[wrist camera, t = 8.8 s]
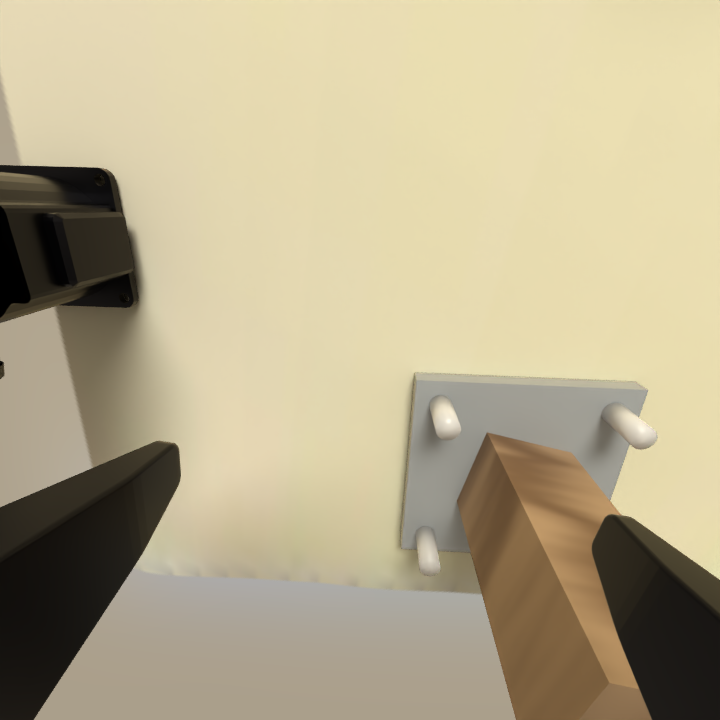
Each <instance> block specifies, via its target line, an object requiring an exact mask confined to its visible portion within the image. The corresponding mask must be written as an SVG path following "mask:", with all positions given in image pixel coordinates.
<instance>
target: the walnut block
mask: <svg viewBox="0 0 720 720" xmlns="http://www.w3.org/2000/svg"><path fill="white" fill-rule="evenodd" d="M457 504H458V507H459V511H460V515H461V518H462V522H463V526H464V529H465V533H466V537H467V540H468V544H469V548H470V552H471V555H472V559H473V563H474V566H475V570H476V574H477V577H478V581H479V585H480V588H481V592H482V596H483V600H484V603H485V607H486V610H487V614H488V618H489V622H490V625H491V629H492V632H493V636H494V640H495V644H496V647H497V651H498V655H499V658H500V662H501V666H502V669H503V673H504V677H505V681H506V684H507V688H508V692H509V695H510V699H511V703H512V706H513V710H514V714H515V717H516V720H652V719H651V717H650V714H649V712H648V709H647V707H646V704H645V702H644V700H643V697H642V695H641V692H640V690H639V687H638V685H637V682H636V680H635V678H634V675H633V673H632V670H631V668H630V665H629V663H628V660H627V658H626V656H625V653H624V651H623V648H622V646H621V643H620V640H619V638H618V635H617V632H616V629H615V626H614V623H613V620H612V617H611V614H610V611H609V607H608V604H607V601H606V598H605V594H604V591H603V588H602V585H601V582H600V578H599V575H598V572H597V569H596V565H595V562H594V559H593V555H592V542H593V540H594V538H595V536H596V534H597V532H598V530H599V528H600V526H601V524H602V522H603V520H604V518H605V517H606V516H607V515H609V514H616V515H621V514H620V513H619V512H618V510H617V509H616V508H615V507H614V505H613V504H612V503H611V502H610V500H609V499H608V498H607V497H606V495H605V494H604V493H603V491H602V490H601V489H600V488H599V486H598V485H597V484H596V483H595V481H594V480H593V479H592V478H591V476H590V475H589V474H588V473H587V471H586V470H585V469H584V468H583V466H582V465H581V464H580V463H579V461H578V460H577V459H576V457H575V456H574V455H573V454H572V453H571V452H567V451H562V450H558V449H554V448H550V447H546V446H542V445H538V444H533V443H529V442H525V441H521V440H517V439H513V438H509V437H504V436H500V435H496V434H492V433H488V432H487V433H486V436H485V438H484V440H483V442H482V445H481V447H480V449H479V451H478V454H477V456H476V458H475V461H474V463H473V465H472V467H471V470H470V472H469V474H468V476H467V479H466V481H465V483H464V485H463V488H462V490H461V492H460V494H459V497H458V499H457Z"/></svg>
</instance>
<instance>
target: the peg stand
mask: <svg viewBox="0 0 720 720" xmlns="http://www.w3.org/2000/svg"><path fill="white" fill-rule="evenodd" d="M647 392H648V389H646V388H645V387H643V386H642V385H640V384H639V383H637V382H628V381H604V380H580V379H556V378H532V377H508V376H484V375H460V374H436V373H415V377H414V388H413V399H412V411H411V422H410V434H409V445H408V456H407V468H406V479H405V490H404V502H403V513H402V524H401V536H400V537H401V549H415V550H417V551H418V560H419V568H420V572H421V573H422V574H424V575H427V576H433V575H436V574H438V573H439V572H440V570H441V566H440V561H439V555H438V551H451V552H469V553H471V552H470V548H469V544H468V540H467V537H466V533H465V529H464V526H463V522H462V518H461V515H460V511H459V507H458V504H457V499H458V497H459V494H460V492H461V490H462V488H463V485H464V483H465V481H466V479H467V476H468V474H469V472H470V470H471V467H472V465H473V463H474V461H475V458H476V456H477V454H478V451H479V449H480V447H481V445H482V442H483V440H484V438H485V436H486V433H487V432H488V433H492V434H496V435H500V436H504V437H509V438H513V439H517V440H521V441H525V442H529V443H533V444H538V445H542V446H546V447H550V448H554V449H558V450H562V451H567V452H571V453H572V454H573V455H574V456H575V457H576V459H577V460H578V461H579V463H580V464H581V465H582V466H583V468H584V469H585V470H586V471H587V473H588V474H589V475H590V476H591V478H592V479H593V480H594V481H595V483H596V484H597V485H598V486H599V488H600V489H601V490H602V491H603V493H604V494H605V495H606V497H607V498H608V499H609V500H611V497H612V494H613V491H614V488H615V485H616V482H617V479H618V476H619V474H620V471H621V468H622V465H623V462H624V459H625V456H626V453H627V450H628V447H629V444H630V445H632V446H633V447H634V448H636V449H646V448H649V447H651V446H652V445H653V444H654V443H655V442H656V440H657V433H656V431H655V430H654V429H652V428H651V427H650V426H649V425H647V424H646V423H645V422H644V421H642V420H641V419H640V418H639V415H640V413H641V410H642V407H643V404H644V401H645V398H646V395H647Z"/></svg>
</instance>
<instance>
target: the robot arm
mask: <svg viewBox="0 0 720 720" xmlns="http://www.w3.org/2000/svg"><path fill="white" fill-rule="evenodd" d="M101 175H102V176H103V177H104V179H105V184H104V185H102V184H101V182H100V177H101ZM133 269H134V264H133V259H132V253H131V248H130V243H129V238H128V232H127V227H126V222H125V218H124V217H123V215H122V210H121V205H120V200H119V195H118V190H117V184H116V180H115V177H114V175H113V174H112V173H111V172H110V171H108V170H107V169H102V168H87V167H49V166H10V165H0V323H1V322H5V321H8V320H11V319H14V318H18V317H21V316H24V315H28V314H31V313H34V312H37V311H41V310H44V309H47V308H51V307H54V306H57V305H68V306H95V307H121V308H127V307H131V306H133V305H135V304H136V303H137V302H138V294H137V288H136V283H135V278H134V273H133ZM124 294H126V295H127V296H128V297H129V301H127V300H126V299H125V298H124ZM3 376H4V363H3V362H2V361H0V379H1V378H2V377H3ZM180 478H181V469H180V456H179V448H178V446H177V445H176V444H175V443H170V442H163V441H156V442H153V443H151V444H148V445H146V446H144V447H141V448H139V449H137V450H134V451H132V452H130V453H127V454H125V455H123V456H120V457H118V458H115V459H113V460H111V461H108V462H106V463H104V464H101V465H99V466H97V467H94V468H92V469H90V470H87V471H85V472H83V473H80V474H78V475H75V476H73V477H71V478H69V479H66V480H64V481H61V482H59V483H57V484H54V485H52V486H50V487H47V488H45V489H42V490H40V491H38V492H35V493H33V494H31V495H29V496H26V497H24V498H21V499H19V500H16V501H14V502H12V503H9V504H7V505H5V506H2V507H0V720H34V718H35V717H36V715H37V714H38V712H39V711H40V709H41V708H42V706H43V705H44V703H45V702H46V700H47V699H48V697H49V695H50V694H51V692H52V691H53V689H54V688H55V686H56V685H57V683H58V682H59V680H60V679H61V677H62V676H63V674H64V673H65V671H66V670H67V668H68V666H69V665H70V664H71V662H72V660H73V659H74V657H75V656H76V654H77V653H78V651H79V650H80V648H81V647H82V645H83V644H84V642H85V641H86V639H87V638H88V636H89V635H90V633H91V632H92V630H93V629H94V627H95V625H96V624H97V622H98V621H99V619H100V618H101V616H102V615H103V613H104V612H105V610H106V609H107V607H108V606H109V604H110V603H111V601H112V600H113V598H114V597H115V595H116V593H117V592H118V590H119V589H120V587H121V586H122V584H123V583H124V581H125V580H126V578H127V577H128V575H129V574H130V572H131V571H132V569H133V568H134V566H135V564H136V563H137V561H138V560H139V558H140V556H141V555H142V553H143V551H144V550H145V548H146V546H147V544H148V543H149V541H150V539H151V537H152V535H153V533H154V531H155V529H156V527H157V525H158V523H159V522H160V520H161V518H162V516H163V514H164V512H165V510H166V508H167V506H168V504H169V502H170V501H171V499H172V497H173V495H174V493H175V491H176V489H177V487H178V485H179V482H180ZM592 555H593V559H594V562H595V565H596V569H597V572H598V575H599V578H600V582H601V585H602V588H603V591H604V594H605V598H606V601H607V604H608V607H609V611H610V614H611V617H612V620H613V623H614V626H615V629H616V632H617V635H618V638H619V640H620V643H621V646H622V648H623V651H624V653H625V656H626V658H627V660H628V663H629V665H630V668H631V670H632V673H633V675H634V678H635V680H636V682H637V685H638V687H639V690H640V692H641V695H642V697H643V700H644V702H645V704H646V707H647V709H648V712H649V714H650V717H651V719H652V720H720V580H719V579H718V578H716V577H715V576H714V575H712V574H711V573H709V572H708V571H707V570H705V569H704V568H702V567H701V566H699V565H698V564H697V563H695V562H694V561H692V560H691V559H690V558H688V557H687V556H685V555H684V554H683V553H681V552H680V551H678V550H677V549H676V548H674V547H673V546H671V545H670V544H668V543H667V542H666V541H664V540H663V539H661V538H660V537H659V536H657V535H656V534H654V533H653V532H652V531H650V530H649V529H647V528H646V527H645V526H643V525H642V524H640V523H639V522H637V521H636V520H635V519H633V518H631V517H628V516H622V515H616V514H609V515H607V516H606V517H605V518H604V520H603V522H602V524H601V526H600V528H599V530H598V532H597V534H596V536H595V538H594V540H593V542H592Z"/></svg>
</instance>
